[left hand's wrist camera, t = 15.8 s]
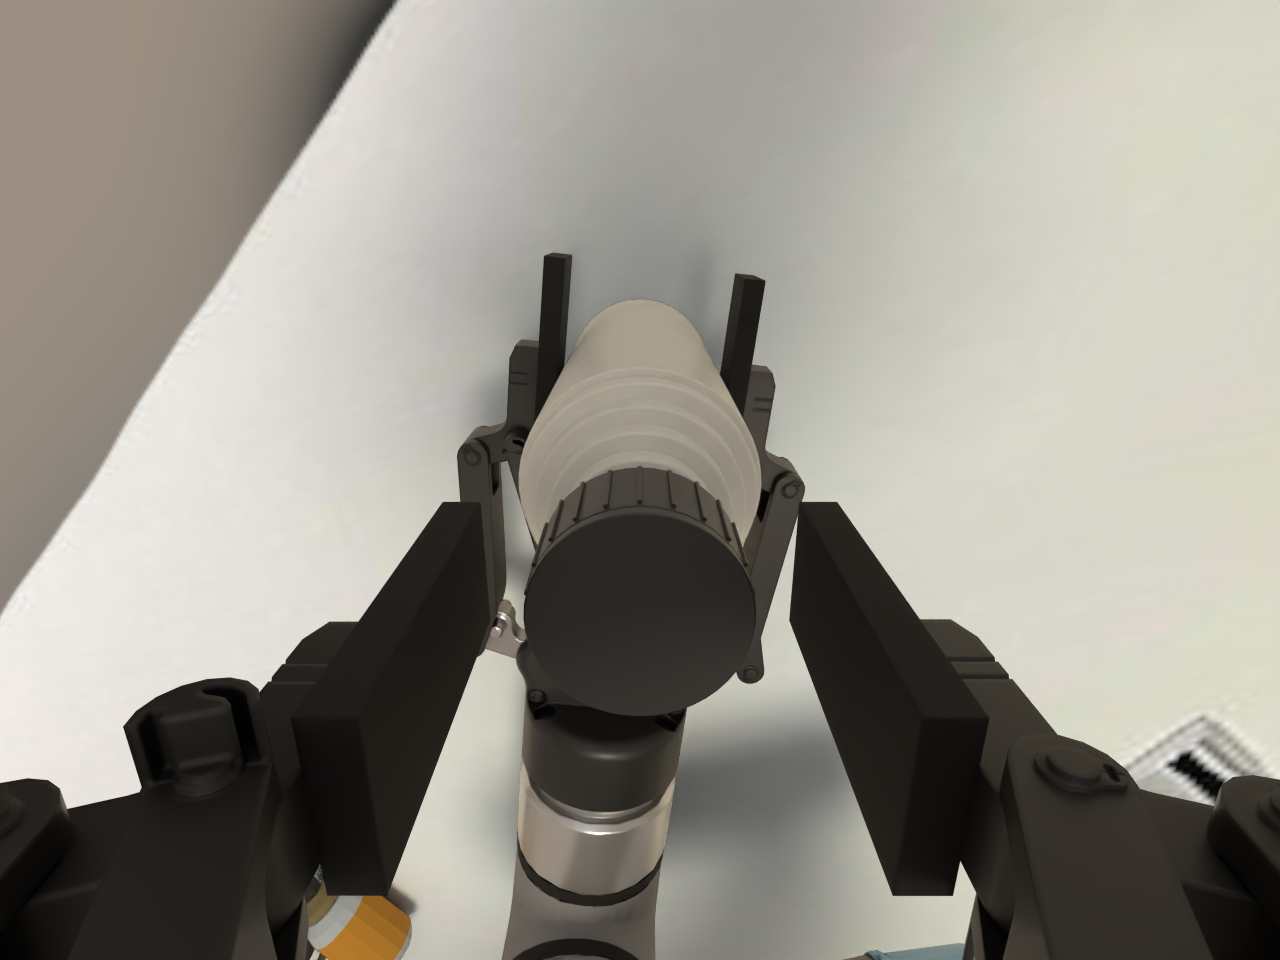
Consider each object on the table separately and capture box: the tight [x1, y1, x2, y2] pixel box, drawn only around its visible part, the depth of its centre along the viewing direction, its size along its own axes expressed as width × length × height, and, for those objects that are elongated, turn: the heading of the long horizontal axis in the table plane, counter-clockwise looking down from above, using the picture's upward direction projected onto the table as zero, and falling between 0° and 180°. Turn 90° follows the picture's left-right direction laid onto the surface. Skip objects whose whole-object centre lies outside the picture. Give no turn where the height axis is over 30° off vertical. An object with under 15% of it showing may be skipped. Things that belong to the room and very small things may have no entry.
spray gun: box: [304, 876, 412, 960], centre depth 45 cm, size 4×17×15 cm
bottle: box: [519, 299, 761, 545], centre depth 24 cm, size 6×6×23 cm
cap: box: [524, 466, 756, 716], centre depth 14 cm, size 4×4×2 cm
